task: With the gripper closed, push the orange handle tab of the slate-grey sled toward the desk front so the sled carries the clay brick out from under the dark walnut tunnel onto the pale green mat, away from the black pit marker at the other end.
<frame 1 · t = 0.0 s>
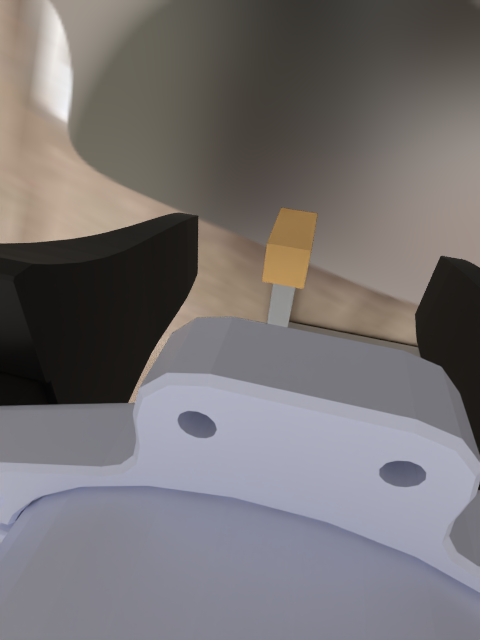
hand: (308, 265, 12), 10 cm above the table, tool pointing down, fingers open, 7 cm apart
sled: (459, 402, 23), point 3 cm above the table, slide at 0.0 cm, touching brick
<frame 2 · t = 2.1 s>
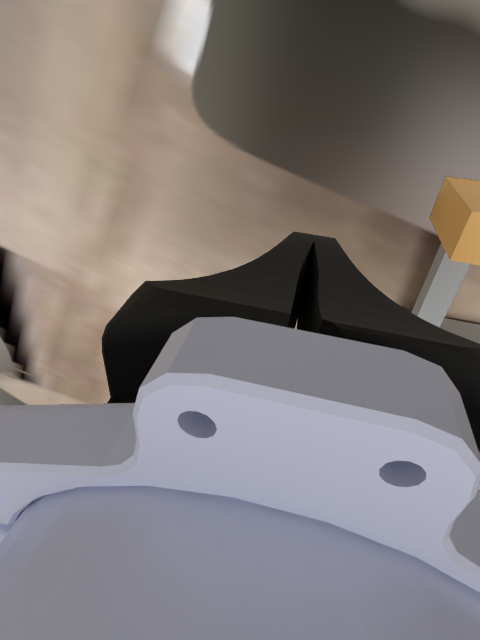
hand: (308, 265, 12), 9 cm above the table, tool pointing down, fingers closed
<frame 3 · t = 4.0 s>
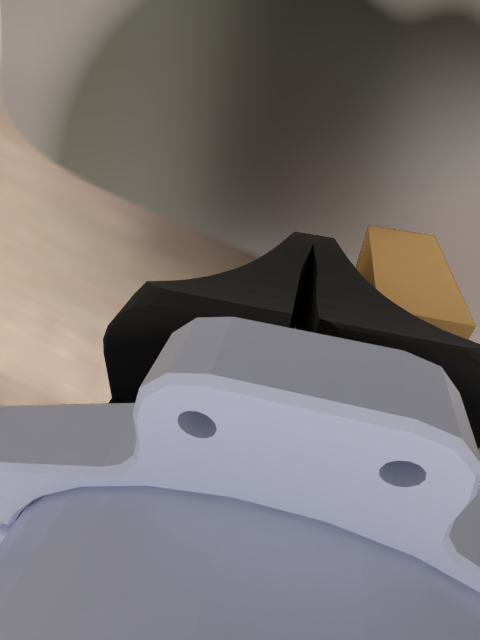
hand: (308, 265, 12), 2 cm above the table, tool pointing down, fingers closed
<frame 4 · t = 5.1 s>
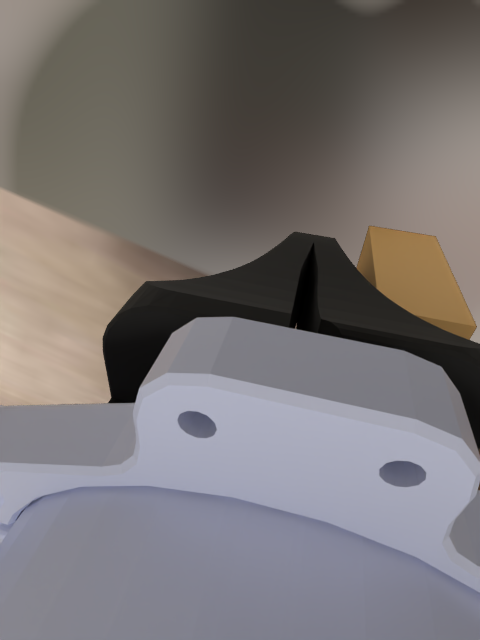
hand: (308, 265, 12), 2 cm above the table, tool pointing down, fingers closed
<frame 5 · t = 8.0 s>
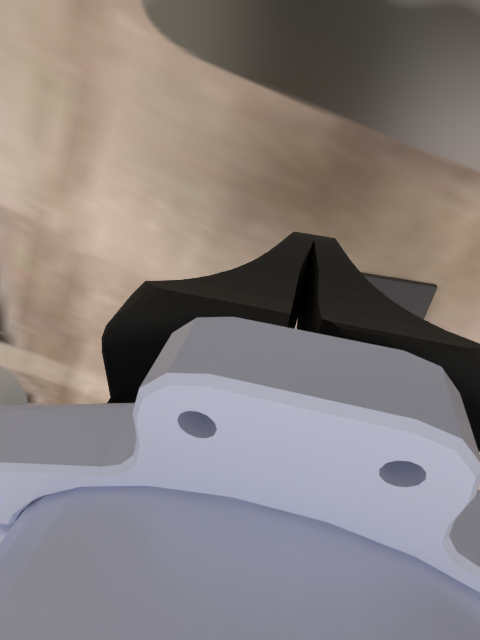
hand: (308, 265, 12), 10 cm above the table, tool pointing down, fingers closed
pit marker: (365, 329, 25), on the table
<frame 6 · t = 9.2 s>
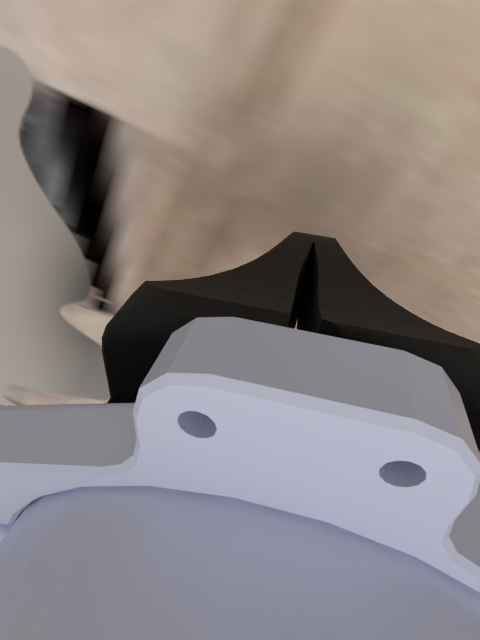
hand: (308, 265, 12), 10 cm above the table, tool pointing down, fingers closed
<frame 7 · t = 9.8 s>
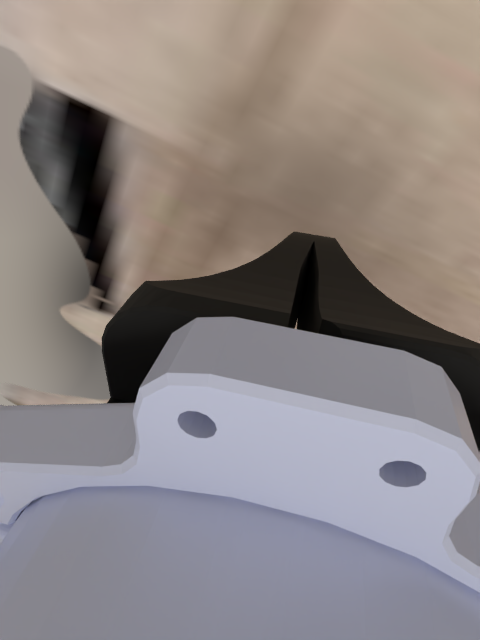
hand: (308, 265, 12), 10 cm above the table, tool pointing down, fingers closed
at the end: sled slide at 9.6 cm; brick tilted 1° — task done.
